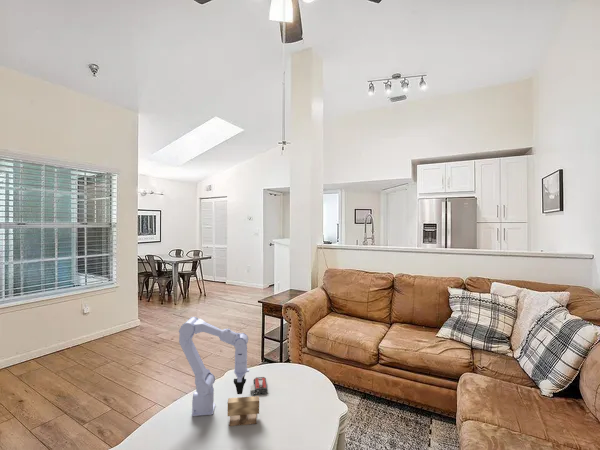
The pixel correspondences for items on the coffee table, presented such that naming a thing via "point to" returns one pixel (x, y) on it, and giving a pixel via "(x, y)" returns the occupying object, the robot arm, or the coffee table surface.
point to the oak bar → (243, 406)
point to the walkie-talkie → (259, 386)
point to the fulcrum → (243, 420)
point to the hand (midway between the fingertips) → (240, 389)
